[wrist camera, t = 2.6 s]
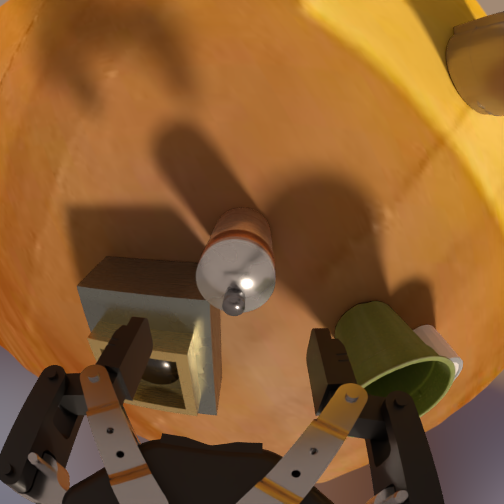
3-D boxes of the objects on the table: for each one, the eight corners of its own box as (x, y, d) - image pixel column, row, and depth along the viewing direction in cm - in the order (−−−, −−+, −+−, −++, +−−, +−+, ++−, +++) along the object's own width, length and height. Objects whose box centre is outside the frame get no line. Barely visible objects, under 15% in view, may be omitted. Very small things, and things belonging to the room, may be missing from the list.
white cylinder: (407, 321, 29) (431, 361, 22) (447, 319, 29) (472, 354, 22) (387, 362, 31) (404, 402, 25) (426, 358, 32) (446, 393, 25)
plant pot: (301, 360, 31) (312, 441, 21) (332, 274, 26) (368, 357, 16) (385, 363, 32) (412, 431, 21) (426, 287, 27) (477, 353, 16)
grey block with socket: (106, 256, 26) (62, 301, 18) (219, 264, 26) (204, 321, 18) (134, 367, 33) (113, 416, 25) (222, 379, 33) (214, 435, 25)
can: (213, 205, 24) (189, 247, 16) (273, 208, 24) (281, 252, 16) (213, 259, 26) (194, 319, 18) (269, 262, 26) (273, 324, 18)
